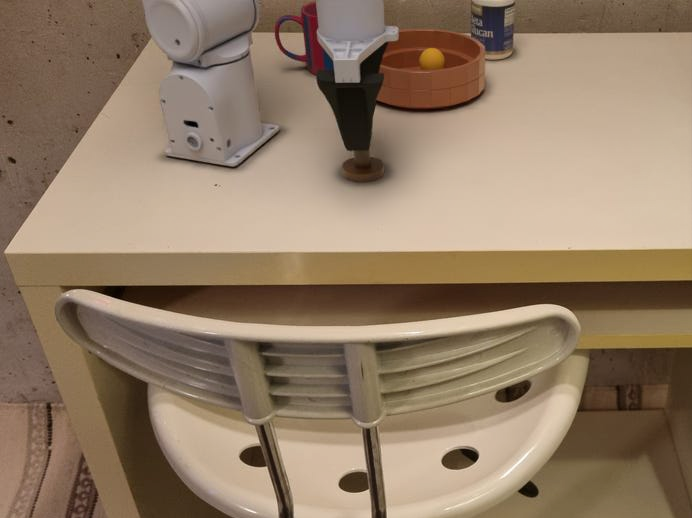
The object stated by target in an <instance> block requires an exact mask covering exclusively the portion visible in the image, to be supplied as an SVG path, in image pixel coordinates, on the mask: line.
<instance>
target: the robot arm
mask: <svg viewBox="0 0 692 518" xmlns="http://www.w3.org/2000/svg"><path fill="white" fill-rule="evenodd" d="M140 1H141V4H142V8H143V12H144V19H145V24H146V27H147V30H148V32H149V34H150V36H151V39H152V40H153V42H154V43H155V45H156V46H157V47H158V49H159V50H161V51H162V53H163V54H165V55H166V57H167V60H168V61H171V62H172V65H171V68H170V71H169V72H168V73H167V75H166V76H165V77H164V78H163V79H162V81H161V82H160V87H159V90H158V97H159V103H160V107H161V112H162V115H163V119H164V125H165V127H166V132H167V137H168V140H169V144H170V146H168V147H166V149H165V150H164V154H165V156H168V157H173V158H178V159H185V160H190V161H196V162H201V163H202V162H203V163H207V164H214V165H220V166H225V167H231V168H232V167H233V168H234V167H236V166H238V165H240V164H241V163H242V162H243V161H244V160H245V159H247V158H248V157H249V156H251V155H252V154H253V153H254V152H255V151H257V149H258V148H260V147H261V146H262V145H263V144H265V143H266V142H267V141H269V139H271V138H272V137H273V136H274V135H275V134H277V133H278V132H279V131H280V126H279V125H278V124H274V123H267V122H262V118H261V117H262V116H261V112H260V104H259V100H258V99H259V98H258V92H257V87H256V86H257V85H256V80H255V73H254V68H253V67H254V66H253V62H252V61H253V60H252V54H251V50H250V46H251V45H253V44H254V41H253V34H252V32H254V31H255V30H256V28H257V27H258V25H259V23H260V19H261V5H260V0H140ZM315 2H316V8H317V17H318V26H319V28H318V29H317V39H318V42H319V43H320V45H321V46H322V47H323V48H324V50H325V51H326V52H327V54H328V55H329V56H330V57H331V59H332V60H333V63H334V69H328V70H318V72H317V75H316V76H315V78H316V84H317V86H318V89H319V91H320V92H321V94H322V95H323V96H324V97H325V99H326V101H327V102H328V104H329V105H330V109H331V110H332V113H333V116H334V118H335V121H336V124H337V127H338V130H339V134H340V138H341V141H342V143H343V145H344V148H345V150H346V151H347V152H348V151H349V152H353V151H368V150H369V148H370V149H371V142H372V135H373V124H374V123H373V122H374V115H375V112H376V106H377V100H376V99H377V96H378V94H379V91H380V89H381V86H382V84H383V81H384V73H379V69H380V65H381V61H382V58H383V55H384V52H385V50H386V48H387V45H388V41H397V40H398V38H399V30H400V29H399V27H398V26H395V25H386V23H385V22H386V21H385V9H384V8H385V5H384V0H315Z"/></svg>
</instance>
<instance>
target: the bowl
mask: <svg viewBox="0 0 692 518" xmlns="http://www.w3.org/2000/svg"><path fill="white" fill-rule="evenodd" d="M428 48H435V49H438V50H439V51H440V52H441V53H442V54H443V56H444V59H445V65H444V68H443V69H439V70H429V71H425V70H422V69H421V67H420V63H419V59H420V56H421V54H422V53H423V51H425V50H426V49H428ZM379 73H384V81H383V84H382V86H381V89H380V91H379V94H378V96H377V99H376V101H378V102H381V103H384V104H386V105H389V106H392V107H397V108H401V109H408V110H409V109H410V110H437V109H445V108H450V107H453V106H457V105H460V104H463V103H465V102H468V101H470V100H471V99H474V98H476V97H477V96H479V95H480V94H481V93H482V91H483V90H484V89H485V87H486V59H485V46H484V45H483V44H482V43H481V42H480V41H479V40H477V39H475V38H473V37H471V35H468V34H465V33H461V32H457V31H454V30H447V29H440V28H439V29H438V28H408V29H399V38H398V40H397V41H388V45H387V48H386V50H385V52H384V55H383V58H382V61H381V65H380V69H379Z"/></svg>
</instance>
